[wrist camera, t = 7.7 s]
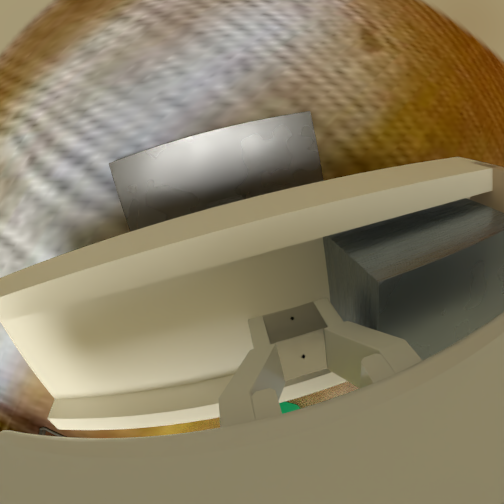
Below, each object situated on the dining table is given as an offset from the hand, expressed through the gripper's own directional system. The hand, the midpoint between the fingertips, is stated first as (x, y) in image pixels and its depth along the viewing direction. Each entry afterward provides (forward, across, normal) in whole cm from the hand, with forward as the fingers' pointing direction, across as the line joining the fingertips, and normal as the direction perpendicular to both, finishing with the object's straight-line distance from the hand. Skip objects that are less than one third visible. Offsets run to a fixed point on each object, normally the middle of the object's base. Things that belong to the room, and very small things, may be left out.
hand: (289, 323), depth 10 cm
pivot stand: (+10, +1, 0) cm, 10 cm away
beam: (+3, +1, 0) cm, 3 cm away
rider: (+1, -6, 0) cm, 6 cm away
